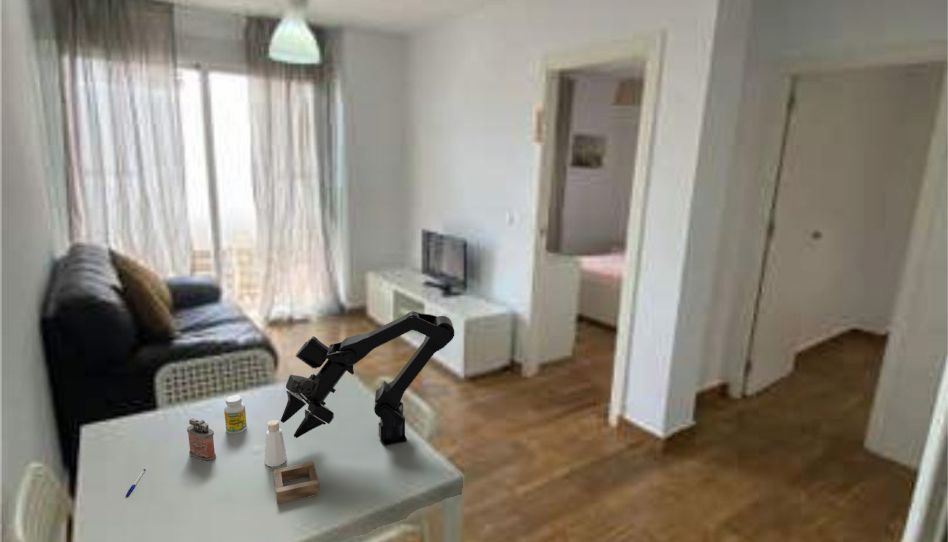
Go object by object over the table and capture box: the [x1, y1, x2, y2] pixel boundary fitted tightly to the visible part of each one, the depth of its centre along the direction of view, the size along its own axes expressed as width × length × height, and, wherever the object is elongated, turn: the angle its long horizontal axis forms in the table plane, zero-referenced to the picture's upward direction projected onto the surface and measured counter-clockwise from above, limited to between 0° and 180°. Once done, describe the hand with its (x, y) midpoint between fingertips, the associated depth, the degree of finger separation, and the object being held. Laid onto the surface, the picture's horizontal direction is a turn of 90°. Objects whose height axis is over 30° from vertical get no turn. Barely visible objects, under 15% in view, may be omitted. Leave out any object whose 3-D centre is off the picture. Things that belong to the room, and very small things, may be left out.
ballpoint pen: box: [125, 468, 147, 498], centre depth 125 cm, size 10×1×1 cm, turn 13°
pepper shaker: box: [263, 419, 288, 467], centre depth 134 cm, size 5×5×11 cm
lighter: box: [186, 417, 217, 463], centre depth 135 cm, size 8×3×10 cm, turn 65°
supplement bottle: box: [223, 394, 248, 435], centre depth 148 cm, size 5×5×10 cm
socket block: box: [273, 461, 320, 505], centre depth 125 cm, size 9×9×3 cm
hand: (288, 429), depth 136 cm, fingers open, 9 cm apart
